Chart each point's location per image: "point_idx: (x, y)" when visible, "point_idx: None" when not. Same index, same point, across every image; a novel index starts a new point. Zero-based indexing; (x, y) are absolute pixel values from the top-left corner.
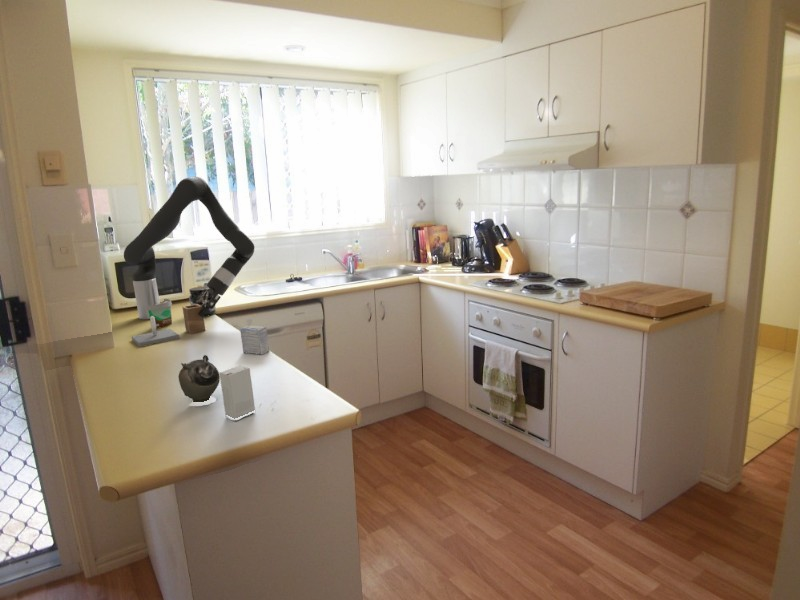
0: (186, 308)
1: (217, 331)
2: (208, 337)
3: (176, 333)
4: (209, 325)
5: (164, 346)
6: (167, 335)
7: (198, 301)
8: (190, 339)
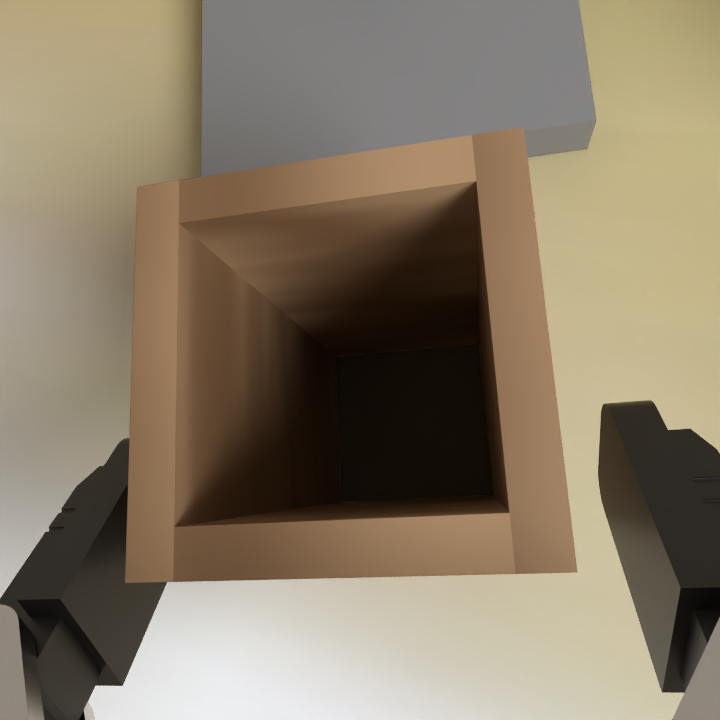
0: (204, 187)
1: (171, 640)
2: (15, 465)
3: (274, 164)
4: (595, 678)
5: (66, 56)
6: (267, 71)
7: (695, 675)
8: (95, 291)
